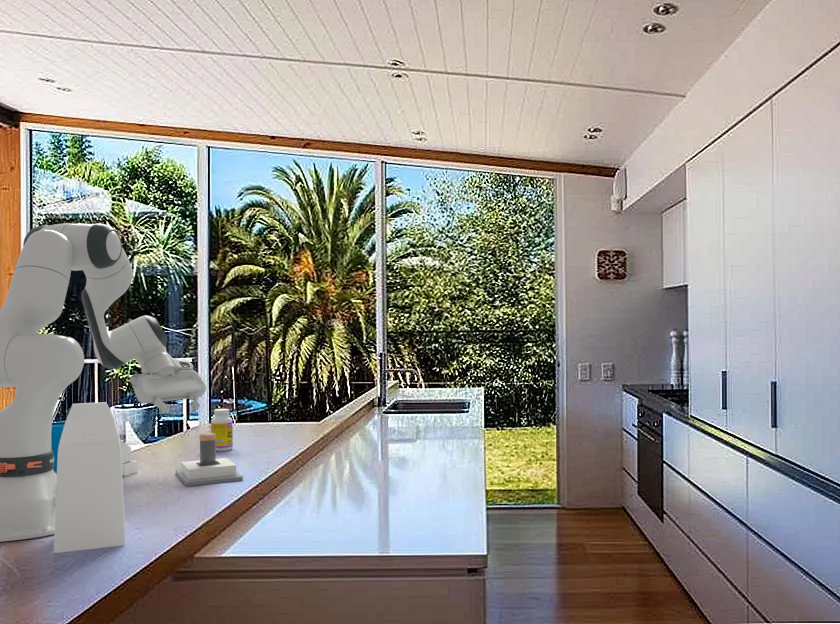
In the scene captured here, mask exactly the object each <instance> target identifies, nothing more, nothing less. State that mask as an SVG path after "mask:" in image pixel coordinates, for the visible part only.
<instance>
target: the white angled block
mask: <svg viewBox="0 0 840 624" xmlns="http://www.w3.org/2000/svg"><path fill="white" fill-rule="evenodd" d="M120 447H121V465H122V475H127V474H130V475H132V474H131V473H133V474H135V473H134V472H136V473H138V460H132V447H131V446H130V445H128V444H127V443H125V442H124V441H122V440H121V439H120Z"/></svg>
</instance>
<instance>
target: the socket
mask: <svg viewBox="0 0 840 624" xmlns="http://www.w3.org/2000/svg"><path fill="white" fill-rule="evenodd" d="M175 474H176V476H177V477H178V478H179V479H180V480H181V482H182V483H184V485H185V486H186V487H192V486H193V487H194V486H202V485H212V484H220V483H221V484H222V483H230V482H231V483H232V482H239V481H240V482H241V481H243V480H244V476H243V475H242V474H240V473H239V472H238V471H237V465H236V463H234V462H233V461H231V460H230V459H229V458H227V457H224V458H223V457H222V458H216V465H209V466H200V459H199V460H191V461H189V460H188V461H181V462H180V469H175Z"/></svg>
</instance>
